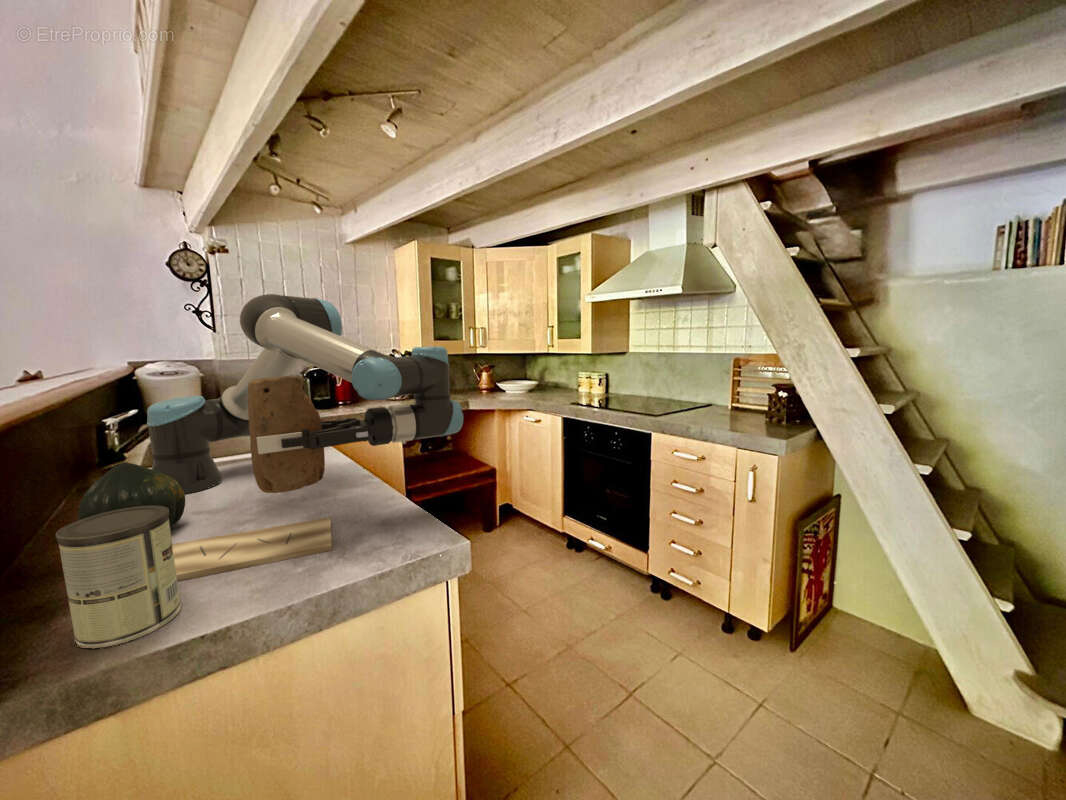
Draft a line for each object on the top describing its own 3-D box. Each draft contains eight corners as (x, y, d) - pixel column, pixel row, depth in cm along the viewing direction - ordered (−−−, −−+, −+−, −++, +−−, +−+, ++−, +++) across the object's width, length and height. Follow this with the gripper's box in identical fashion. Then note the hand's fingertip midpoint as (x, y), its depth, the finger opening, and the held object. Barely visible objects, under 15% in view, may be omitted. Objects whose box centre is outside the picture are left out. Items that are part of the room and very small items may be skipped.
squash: (150, 523, 75) (169, 448, 83) (42, 538, 71) (73, 458, 79) (189, 547, 86) (202, 479, 94) (97, 561, 82) (119, 489, 90)
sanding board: (156, 552, 76) (155, 546, 75) (330, 521, 88) (330, 516, 87) (122, 592, 63) (122, 585, 63) (331, 550, 75) (331, 544, 75)
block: (262, 498, 71) (249, 378, 69) (252, 489, 76) (240, 377, 74) (330, 483, 78) (321, 374, 76) (317, 475, 84) (308, 373, 81)
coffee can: (75, 623, 56) (59, 520, 54) (177, 591, 63) (165, 499, 61) (70, 664, 49) (50, 546, 47) (185, 622, 56) (172, 518, 54)
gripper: (407, 452, 79) (262, 476, 65) (375, 435, 96) (254, 451, 82) (405, 412, 78) (257, 428, 65) (372, 402, 95) (250, 413, 81)
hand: (256, 441), depth 73 cm, fingers closed on block, 8 cm apart
